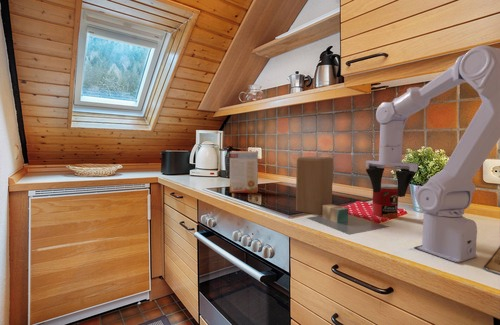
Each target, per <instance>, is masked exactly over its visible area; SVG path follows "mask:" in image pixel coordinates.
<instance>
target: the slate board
mask: <svg viewBox="0 0 500 325" xmlns="http://www.w3.org/2000/svg"><path fill="white" fill-rule="evenodd" d="M306 219H307V220H311V221H313V222H316V223H318V224H320V225H323V226H326V227H329V228H331V229H333V230H336V231H339V232H341V233H343V234H346V235H354V234H359V233H364V232H365V233H366V232H370V231H375V230H381V229H385V228H390V226H388V225H384V224H382V223H379V222H376V221H371V220H369V219H366V218H362V217H360V216H359V217H358V216H356V215H353V214H349V213H348V222H343V223H336V222H333V221H331V220H328V219H325V218H322V215H315V216H310V217H306Z"/></svg>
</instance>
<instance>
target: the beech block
mask: <svg viewBox="0 0 500 325" xmlns="http://www.w3.org/2000/svg"><path fill="white" fill-rule="evenodd" d="M348 214H349V208H347V207H343V206H340V205H337V204H333V203H332V204H330V205H323V212H322V215H321V216H322V218H325V219H328V220H331V221H333V222H336V223H343V222H348Z"/></svg>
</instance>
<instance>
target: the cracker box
mask: <svg viewBox="0 0 500 325" xmlns="http://www.w3.org/2000/svg"><path fill="white" fill-rule="evenodd" d="M258 152H259V151H245V150H244V151H240V150H239V151H236V150H235V151H233V150H232V151H229V193H231V194H232V193H245V194H246V193H248V194H249V193H250V194H257V193H258V191H259V189H258V183H259V182H258V179H259V178H258V177H259V176H258V172H259V171H258V169H259V162H258V161H259V160H258V159H259V156H258V154H259V153H258Z"/></svg>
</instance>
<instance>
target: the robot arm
mask: <svg viewBox="0 0 500 325" xmlns="http://www.w3.org/2000/svg"><path fill="white" fill-rule="evenodd" d="M464 83H465V84H466V83H467V84H469V86H471V87H472V89H474V90H475V91H476V92H477V94H478V96H479V98H480V100H481V104H480V106H479V108H478V109H477V111H476V112H475V114H474V115H473V117H472V118H471V121H470V122H469V124H468V126H467V128H466V129H465V131H464V133H463V134H462V136H461V137H460V140H459V141H458V143H457V145H456V146H455V148H454V150H453V152H452V153H451V155H450V157H449V158H448V160H447V162H446V163H445V165H444V166H443V168H442V170H440V171H439V172H437V173H435V174H434V175H432V176H430V177H429V178H428V180H427V181H426V183H425V184H424V185H422V186H420V187H419V188H418V190H417V192H416V195H415V196H416V202H417V205H418V207H419V208H420V209H421V212H422V213H423V219H422V220H423V221H422V222H423V223H422V242H421V243H422V244H421V245H417V246H413V248H414V249H416V250H420V251H423V252H425V253H428V254H431V255H433V256H437V257H440V258H441V259H446V260H449V261H452V262H453V263H454V262H455V263H458V264H459V263H462V262H464V261H468V260H470V259H473V258H477V257H478V254H477V252H476V251H477V238H478V237H477V235H478V227H477V223H476V221H475V220H473V219H470V218H466V217H465V216H463V215H465V210H467V209H468V208H469V207H470V206H471V204H472V201H473V200H472V199H473V194H474V191H475V190H476V189H477V188H476V185H475V184H474V182H473V181H472V180H473V179H474V177H475V176H476V175H477V174H478V172H479V170H480V168H481V167H482V165H483V164H484V163H485V161H486V160H487V159H488V157H489V155H490V154H491V152H492V151H493V149H494V148H495V147H496V145H497V144H498V142H499V140H500V48H498V47H492V46H489V45H485V44H484V45H481V44H480V45H477V46H475V47H473V48H471V49H469V50H468V51H467V52H466V53H464V54H462V55H460V56H459V57H457V58H456V60H455V62H454V64H453V65H451V66H450V67H448V68H447V69H446V70H444V71H443V72H441V73H440V74H439V75H438V76H436V77H435V78H433V79H432V80H431V81H429V82H427V83H426V84H425V85H423V86H422V87H419V86H415V87H412V86H411V87H409V88H407V89H406V92H405V93H403V94H402V95H400V96H398V97H395V98H393V100H392V101H390V102H389V101H388V102H387V101H383V102H381V104H380V105H379V106H378V107H377V109H376V113H375V119H376V121H377V122H378V123H379V125H380V126H379V147H378V148H379V149H378V150H379V151H378V156H379V157H378V160H365V167H366V169H365V171H366V173H367V175H368V177H369V179H370V182H371V185H372V192H373V191H374V192H380V190H381V183H382V178H383V174H384V171H385V169H389V170H395V175H396V182H397V186H398V198H403V197H405V196H406V195H407V194H406V193H407V190H408V187H409V186H410V184H411V182H412V180H413V179H414V177H415V176H416V174H417V172H418V171H419V170H418V169H419V168H418V166H419V164H418V163H414V162H413V163H411V162H405V161H404V162H402V158H403V157H402V156H403V139H404V136H403V135H404V130H405V128H406V122H407V121H408V119H409V117H410V116H412V115H414V114H416V113H418V112H420V111H421V110H423V109H424V108H425V109H426V108H427V107H429V105H430V101H431V99H433V98H434V99H435V97H437V96H439V95H441V94H444V93H446V92H447V91H450V90H452V89H453V88H455V87H458V86H459V85H462V84H464Z"/></svg>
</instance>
